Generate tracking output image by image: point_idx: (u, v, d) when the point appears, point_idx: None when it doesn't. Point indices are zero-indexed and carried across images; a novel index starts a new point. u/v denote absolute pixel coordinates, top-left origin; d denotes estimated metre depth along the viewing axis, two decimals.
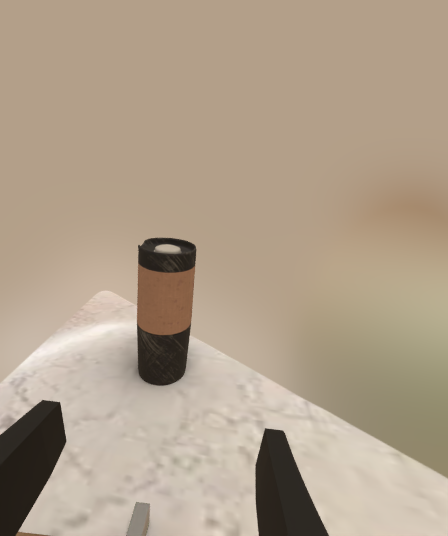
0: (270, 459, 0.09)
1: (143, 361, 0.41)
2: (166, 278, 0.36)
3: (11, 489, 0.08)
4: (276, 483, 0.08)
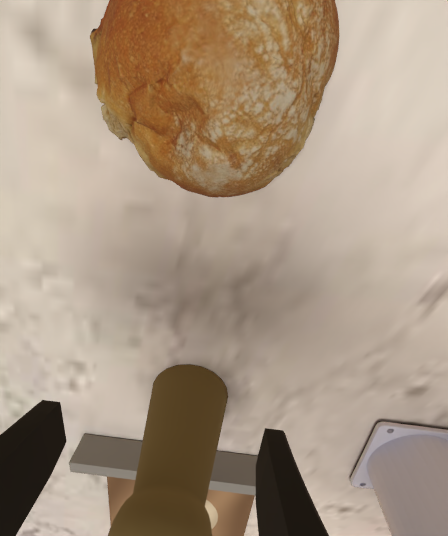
0: (270, 459, 0.09)
1: None
2: None
3: (10, 490, 0.08)
4: (276, 483, 0.08)
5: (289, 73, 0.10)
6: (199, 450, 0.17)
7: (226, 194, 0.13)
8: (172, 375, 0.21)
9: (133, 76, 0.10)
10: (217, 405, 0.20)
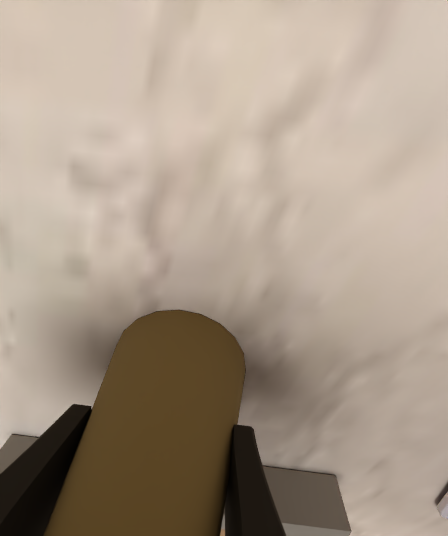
0: (234, 455, 0.09)
1: None
2: None
3: (49, 495, 0.08)
4: (237, 478, 0.08)
5: None
6: (194, 474, 0.07)
7: None
8: (146, 327, 0.12)
9: None
10: (229, 380, 0.11)
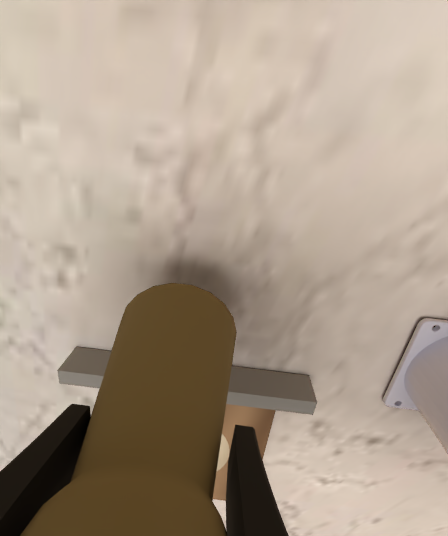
0: (236, 455, 0.09)
1: None
2: None
3: (47, 495, 0.08)
4: (239, 478, 0.08)
5: None
6: (194, 400, 0.09)
7: None
8: (145, 299, 0.13)
9: None
10: (221, 336, 0.13)
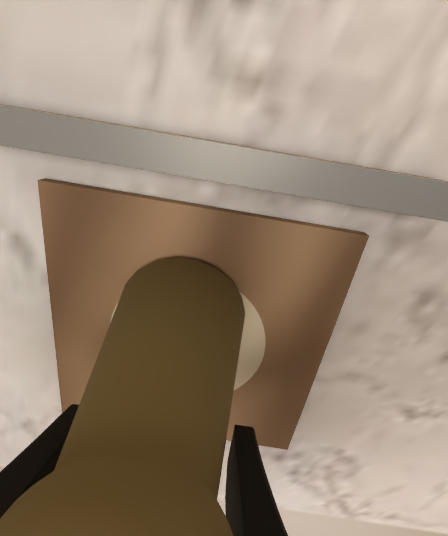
0: (235, 455, 0.09)
1: None
2: None
3: None
4: (238, 478, 0.08)
5: None
6: (197, 383, 0.08)
7: None
8: (145, 274, 0.12)
9: None
10: (228, 315, 0.11)
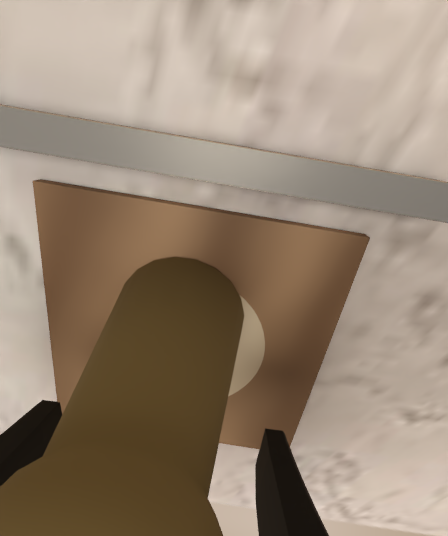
0: (270, 459, 0.09)
1: None
2: None
3: None
4: (276, 483, 0.08)
5: None
6: (190, 377, 0.08)
7: None
8: (144, 273, 0.12)
9: None
10: (226, 314, 0.11)
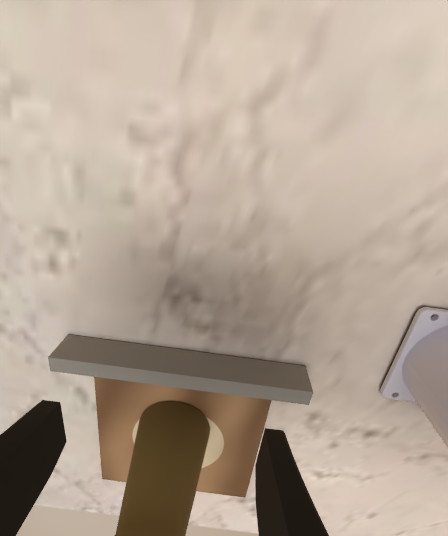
0: (270, 459, 0.09)
1: None
2: None
3: (11, 490, 0.08)
4: (276, 483, 0.08)
5: None
6: (176, 488, 0.18)
7: None
8: (153, 413, 0.23)
9: None
10: (196, 439, 0.22)
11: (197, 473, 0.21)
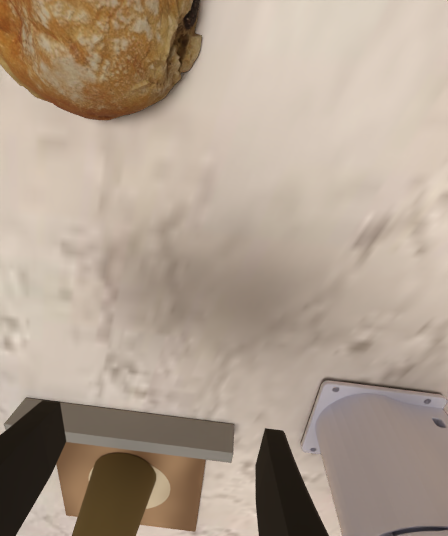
0: (270, 459, 0.09)
1: None
2: None
3: (11, 489, 0.08)
4: (276, 483, 0.08)
5: None
6: None
7: (96, 108, 0.12)
8: (103, 465, 0.26)
9: None
10: (138, 489, 0.25)
11: (136, 521, 0.24)
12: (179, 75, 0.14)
